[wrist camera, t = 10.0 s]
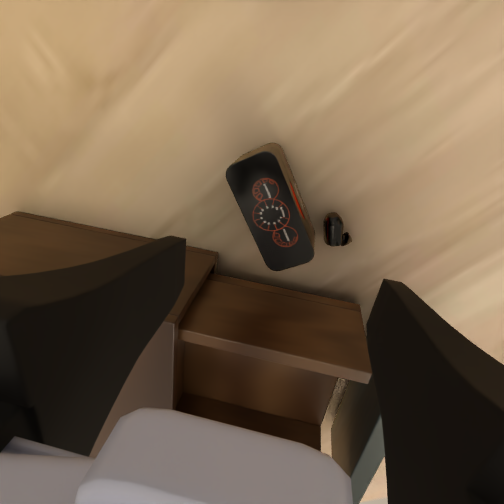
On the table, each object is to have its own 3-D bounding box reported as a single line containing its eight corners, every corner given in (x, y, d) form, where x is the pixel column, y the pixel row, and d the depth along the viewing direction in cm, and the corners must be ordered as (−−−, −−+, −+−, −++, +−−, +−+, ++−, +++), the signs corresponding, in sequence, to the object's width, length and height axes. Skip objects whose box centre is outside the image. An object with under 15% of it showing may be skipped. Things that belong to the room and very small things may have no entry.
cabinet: (218, 252, 22) (174, 323, 16) (205, 393, 29) (170, 486, 22) (16, 210, 24) (-103, 259, 17) (48, 353, 31) (-30, 429, 24)
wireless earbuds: (281, 259, 22) (275, 285, 19) (236, 156, 19) (221, 168, 17) (351, 237, 20) (356, 262, 17) (311, 123, 18) (310, 130, 15)
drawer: (490, 322, 20) (551, 408, 15) (414, 449, 26) (439, 542, 21) (182, 258, 22) (138, 313, 17) (177, 390, 28) (144, 460, 23)
